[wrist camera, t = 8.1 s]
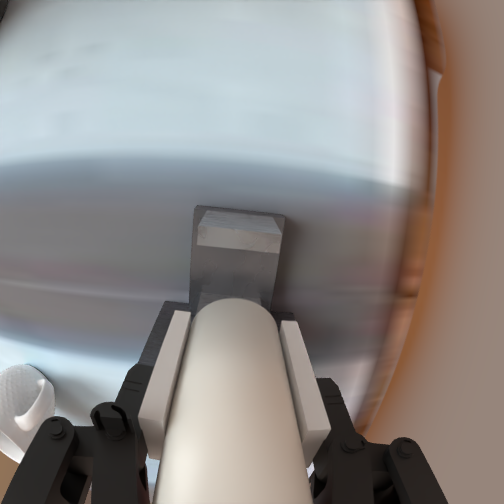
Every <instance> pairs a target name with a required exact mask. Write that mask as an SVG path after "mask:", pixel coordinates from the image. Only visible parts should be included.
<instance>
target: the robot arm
mask: <svg viewBox="0 0 504 504" xmlns="http://www.w3.org/2000/svg"><path fill="white" fill-rule="evenodd" d="M7 3H8V0H0V21H1V19H2V16H3V14H4V12H5V9H6V6H7ZM190 323H191V312H186V311H178V310H175V312H174V315H173V317H172V320H171V323H170V325H169V328H168V331H167V333H166V336H165V339H164V341H163V344H162V347H161V350H160V353H159V355H158V358H157V361H156V364H155V367H154V366H148V365H142V364H135V365H134V366H133V367H132V368H131V369H130V370H128V373H127V375H126V377H125V379H124V382H123V384H122V386H121V389H120V391H119V393H118V396H117V398H116V401H115V402H104V403H101V404H99V405H97V406H96V407H95V408H93V409H92V411H91V414H90V417H91V419H92V422H93V424H94V426H73V425H72V424H71V422H70V421H69V420H67V419H66V418H64V417H59V416H54V417H50V418H48V419H46V420H45V421H44V422H43V423H42V424H41V426H40V428H39V429H38V431H37V433H36V435H35V436H34V438H33V440H32V442H31V444H30V445H29V447H28V449H27V451H26V453H25V455H24V457H23V459H22V461H21V462H20V465H19V466H18V468H17V470H16V472H15V475H14V477H13V479H12V481H11V483H10V485H9V487H8V489H7V491H6V494H5V496H4V498H3V500H2V503H1V504H84V503H85V500H86V497H87V494H88V491H89V488H90V485H91V482H92V493H91V504H150V500H149V490H148V477H147V467H146V464H145V461H146V457H147V453H148V456H149V458H151V459H156V460H160V459H161V454H162V449H163V444H164V439H165V434H166V429H167V425H168V420H169V415H170V411H171V406H172V402H173V398H174V393H175V389H176V385H177V380H178V376H179V372H180V368H181V364H182V359H183V355H184V351H185V347H186V343H187V339H188V335H189V331H190ZM279 337H280V342H281V347H282V352H283V356H284V361H285V366H286V371H287V375H288V380H289V385H290V390H291V395H292V400H293V404H294V409H295V414H296V419H297V424H298V429H299V434H300V439H301V444H302V449H303V454H304V459H305V464H306V468H309V466H310V465H311V463H312V461H313V464H314V469H315V470H314V471H313V473H312V474H311V476H310V477H309V484H310V483H311V487H310V489H311V494H312V499H313V504H448V502H447V500H446V498H445V496H444V494H443V492H442V490H441V488H440V486H439V484H438V482H437V480H436V478H435V476H434V474H433V472H432V470H431V468H430V466H429V464H428V462H427V460H426V458H425V456H424V454H423V453H422V451H421V449H420V447H419V445H418V444H417V443H416V442H415V441H413V440H412V439H410V438H406V437H401V438H397V439H395V440H394V441H393V442H392V443H391V444H390V445H386V444H376V443H370V442H367V440H366V439H365V438H364V437H363V436H362V435H360V434H358V433H356V431H355V429H354V427H353V424H352V421H351V419H350V416H349V413H348V411H347V408H346V406H345V404H344V400H343V398H342V397H341V393H340V390H339V387H338V386H337V385H336V384H335V382H334V381H333V380H332V379H331V378H315V375H314V372H313V369H312V366H311V363H310V360H309V357H308V353H307V350H306V347H305V344H304V341H303V338H302V335H301V332H300V329H299V326H298V323H297V321H282V322H281V327H280V332H279Z"/></svg>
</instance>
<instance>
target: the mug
mask: <svg viewBox="0 0 504 504" xmlns="http://www.w3.org/2000/svg"><path fill="white" fill-rule="evenodd" d="M54 412H55V393H54V387H53V385H52V384H51V383H50V382H49V381H48V380H47V378H46V377H45V376H44V375H43V374H42V373H41V372H40V371H38V370H37V369H35V368H34V367H32V366H30V365H26V364H22V365H16V366H12V367H10V368H8V369H6V370H4V371H2V372H1V373H0V451H2V452H3V453H4V454H6V455H7V456H8V457H10V458H11V459H13V460H14V461H16V462H18V463H20V462H21V461H22V459H23V457H24V455H25V453H26V451H27V449H28V447H29V445H30V444H31V442H32V440H33V438H34V436H35V435H36V433H37V431H38V429H39V428H40V426H41V424H42V423H43V422H44V421H45V420H46V419H48V418H50V417H54Z"/></svg>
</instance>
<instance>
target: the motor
mask: <svg viewBox="0 0 504 504" xmlns="http://www.w3.org/2000/svg"><path fill="white" fill-rule="evenodd" d="M284 224H285V218H284V216H283V215H281V214H273V213H264V212H256V211H247V210H238V209H228V208H218V207H208V206H198V205H197V206H196V207H195V209H194V219H193V233H192V249H191V267H190V291H189V304H185V303H177V302H169V301H165V302H164V304H163V306H162V309H161V311H160V313H159V315H158V317H157V320H156V322H155V324H154V326H153V329H152V331H151V333H150V336H149V338H148V340H147V343H146V345H145V347H144V350H143V352H142V354H141V357H140V359H139V361H138V364H142V365H148V366H154V367H155V364H156V361H157V358H158V355H159V353H160V350H161V347H162V344H163V341H164V339H165V336H166V333H167V331H168V328H169V325H170V323H171V320H172V317H173V315H174V312H175V310H178V311H186V312H191V323H190V327H191V324H192V321H193V319H194V317H195V316H196V314H197V313H198V312H199V311H200V310H201V309H202V308H204V307H205V306H207V305H208V304H210V303H212V302H215V301H218V300H222V299H229V298H239V299H245V300H249V301H252V302H254V303H257V304H258V305H260V306H262V307H263V308H265V309H266V310H267V311H268V312H269V313H270V314H271V315H272V317H273V318H274V320H275V322H276V325H277V328H278V333H279V332H280V327H281V322H282V321H295V318H294V315H293V313H282V312H270V308H271V302H272V296H273V291H274V285H275V279H276V273H277V267H278V261H279V255H280V249H281V243H282V236H283V230H284Z"/></svg>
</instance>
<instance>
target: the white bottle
mask: <svg viewBox="0 0 504 504" xmlns="http://www.w3.org/2000/svg"><path fill="white" fill-rule="evenodd" d="M152 504H313V499H312V494H311V489H310V484H309V479H308V474H307V469H306V464H305V459H304V454H303V449H302V444H301V439H300V434H299V429H298V424H297V419H296V414H295V409H294V404H293V400H292V395H291V390H290V385H289V380H288V375H287V371H286V366H285V361H284V356H283V352H282V347H281V342H280V337H279V333H278V328H277V325H276V322H275V320H274V318H273V317H272V315H271V314H270V313H269V312H268V311H267V310H266V309H265V308H263V307H262V306H260V305H258V304H257V303H254V302H252V301H249V300H245V299H239V298H229V299H222V300H218V301H215V302H212V303H210V304H208V305H207V306H205V307H204V308H202V309H201V310H200V311H199V312H198V313H197V314H196V316H195V317H194V319H193V321H192V324H191V327H190V331H189V335H188V339H187V343H186V347H185V351H184V355H183V359H182V364H181V368H180V372H179V376H178V380H177V385H176V389H175V393H174V398H173V402H172V406H171V411H170V415H169V420H168V425H167V429H166V434H165V439H164V444H163V449H162V454H161V459H160V464H159V469H158V474H157V480H156V485H155V491H154V496H153V502H152Z"/></svg>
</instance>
